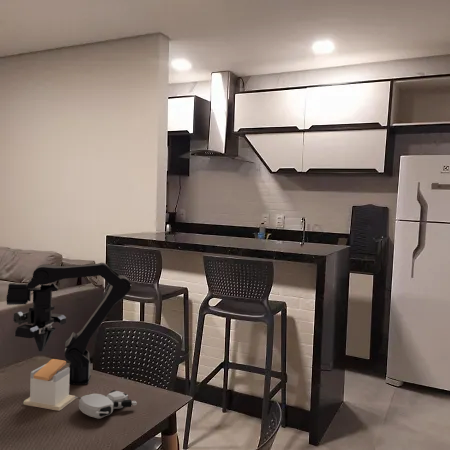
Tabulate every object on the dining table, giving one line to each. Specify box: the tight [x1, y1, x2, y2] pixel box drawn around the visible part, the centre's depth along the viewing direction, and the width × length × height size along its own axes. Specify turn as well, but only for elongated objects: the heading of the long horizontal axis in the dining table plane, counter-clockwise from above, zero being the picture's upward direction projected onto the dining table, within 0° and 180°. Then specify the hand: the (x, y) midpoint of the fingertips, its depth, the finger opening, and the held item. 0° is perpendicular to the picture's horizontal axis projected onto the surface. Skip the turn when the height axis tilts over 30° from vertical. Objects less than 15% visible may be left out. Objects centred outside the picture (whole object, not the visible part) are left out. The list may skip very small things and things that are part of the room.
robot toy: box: [74, 389, 138, 420], centre depth 128 cm, size 12×4×15 cm
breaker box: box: [23, 363, 76, 412], centre depth 132 cm, size 8×12×10 cm, turn 76°
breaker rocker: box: [33, 358, 67, 381], centre depth 131 cm, size 9×5×2 cm, turn 166°
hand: (41, 350), depth 143 cm, fingers closed
